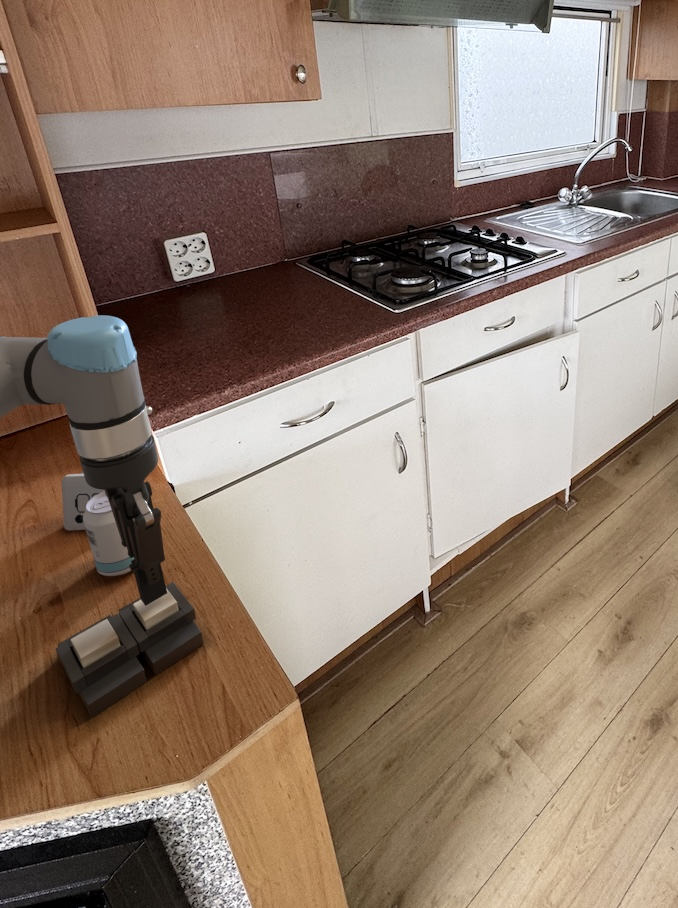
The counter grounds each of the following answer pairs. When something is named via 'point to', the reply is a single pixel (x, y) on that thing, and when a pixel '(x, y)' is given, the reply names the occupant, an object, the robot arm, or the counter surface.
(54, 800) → the counter surface
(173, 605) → the e key
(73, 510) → the electrical switch
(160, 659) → the far key block
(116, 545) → the beverage can
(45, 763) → the counter surface
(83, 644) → the c key
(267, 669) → the counter surface
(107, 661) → the near key block
